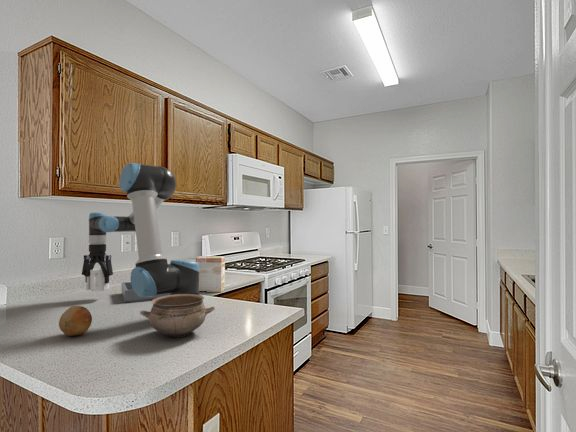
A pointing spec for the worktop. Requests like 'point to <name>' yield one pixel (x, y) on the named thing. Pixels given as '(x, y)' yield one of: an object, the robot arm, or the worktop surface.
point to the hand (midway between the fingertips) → (97, 289)
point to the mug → (96, 280)
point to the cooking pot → (177, 314)
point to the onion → (75, 321)
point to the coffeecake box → (211, 273)
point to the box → (134, 294)
